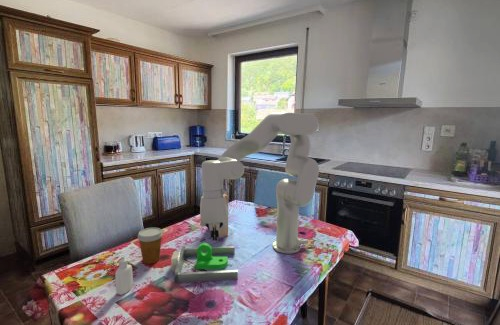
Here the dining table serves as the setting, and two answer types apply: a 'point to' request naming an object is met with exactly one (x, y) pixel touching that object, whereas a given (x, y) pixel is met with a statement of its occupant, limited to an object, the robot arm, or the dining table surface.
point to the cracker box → (224, 229)
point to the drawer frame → (201, 276)
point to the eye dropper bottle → (123, 277)
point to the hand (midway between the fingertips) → (214, 238)
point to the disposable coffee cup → (150, 244)
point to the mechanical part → (209, 259)
